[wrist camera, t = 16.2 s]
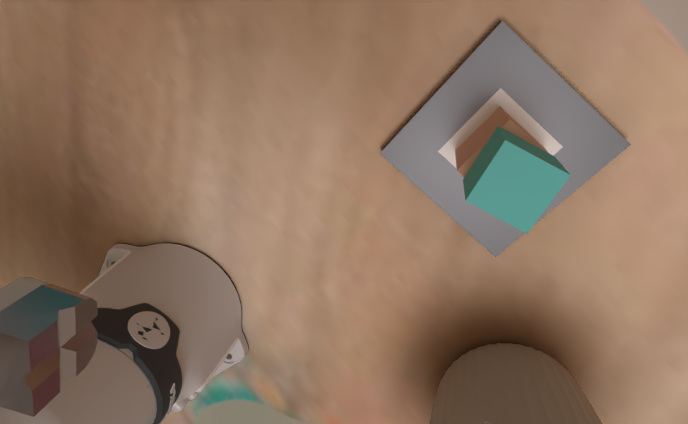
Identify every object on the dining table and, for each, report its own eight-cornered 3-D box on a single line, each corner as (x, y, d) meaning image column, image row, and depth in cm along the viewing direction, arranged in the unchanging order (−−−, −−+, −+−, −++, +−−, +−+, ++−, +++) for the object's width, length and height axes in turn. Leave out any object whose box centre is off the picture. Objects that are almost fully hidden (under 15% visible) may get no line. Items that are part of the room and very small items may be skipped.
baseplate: (494, 251, 44) (495, 257, 43) (381, 150, 42) (379, 153, 41) (625, 140, 38) (630, 144, 37) (500, 20, 37) (502, 20, 36)
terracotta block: (497, 189, 40) (506, 215, 35) (454, 150, 40) (456, 170, 35) (544, 147, 39) (561, 167, 33) (500, 105, 38) (509, 119, 33)
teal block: (517, 208, 35) (527, 233, 31) (462, 179, 35) (465, 200, 31) (554, 156, 33) (570, 175, 29) (497, 125, 33) (505, 140, 29)
